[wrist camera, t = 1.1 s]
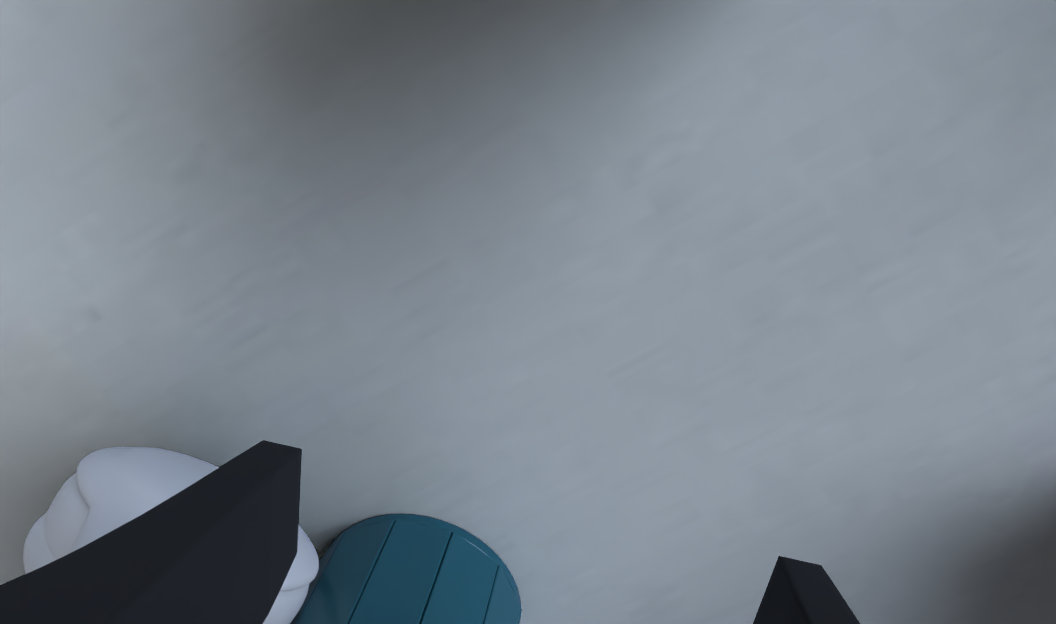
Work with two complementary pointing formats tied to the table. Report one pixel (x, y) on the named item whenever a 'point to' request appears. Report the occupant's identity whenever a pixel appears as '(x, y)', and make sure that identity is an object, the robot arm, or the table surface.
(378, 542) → the pot
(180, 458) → the headphones
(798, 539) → the table surface
